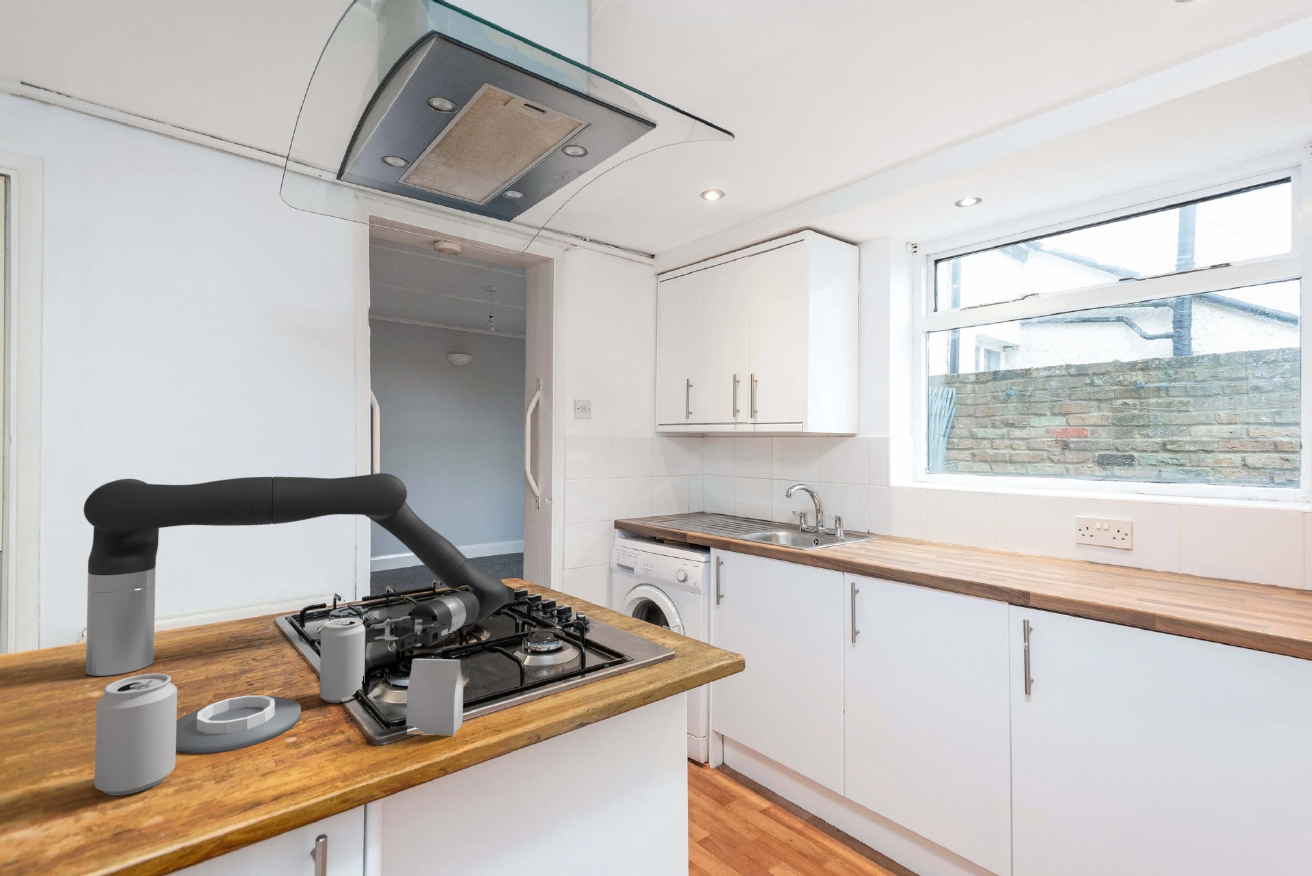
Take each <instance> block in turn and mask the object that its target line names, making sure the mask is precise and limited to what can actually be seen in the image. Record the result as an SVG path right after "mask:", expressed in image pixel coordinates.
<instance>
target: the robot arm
mask: <svg viewBox="0 0 1312 876" xmlns="http://www.w3.org/2000/svg"><path fill="white" fill-rule="evenodd" d="M407 496H408V492H407V487H406V485H405V483H404V482H403V481H402V480H401V479H400V478H398V476H395V475H393V474H391V473H385V472H378V473H371V474H364V475H356V476H354V475H353V476H346V477H333V478H331V477H330V478H326V477H310V476H309V477H307V476H305V477H304V476H250V477H236V478H229V479H219V480H213V481H206V482H201V483H192V484H160V483H159V484H157V483H147V482H145V481H143V480H140V479H136V478H122V479H117V480H113V481H109V482H106V483H104V484H102V485H100V486H98V487H97V488H95V489H94V490H93V491H92V492H91V493H90V494H89V495H88V496H87V498H86V500H85V502H84V505H83V514H84V517H85V520H86V521H87V522H88V524H90V525H91V526H93V538H92V539H93V540H92V545H91V551H90V554H89V556H88V560H87V596H86V597H87V602H86V603H87V604H86V608H87V609H86V641H85V642H86V644H85V646H86V647H85V649H86V650H85V674H87V675H89V676H97V677H98V676H99V677H100V676H101V677H103V676H112V675H113V676H114V675H121V674H125V673H126V674H128V673H130V672H135V671H138V670H141V669H143V668H147V667H148V666H151V665H152V664H153V663H154V660H155V659H154V657H155V655H154V654H155V653H154V652H155V618H156V617H155V615H156V614H155V613H156V612H155V611H156V607H155V606H156V565H157V555H158V548H159V536H160V535H159V534H160V533H159V532H160V529H162V528H170V527H171V528H172V527H180V526H212V527H213V526H215V527H216V526H219V527H220V526H222V527H223V526H228V527H231V526H233V527H234V526H237V527H239V526H262V525H264V526H265V525H278V524H286V523H287V524H288V523H294V522H300V521H306V520H311V519H316V518H320V517H321V518H322V517H325V516H337V515H351V516H352V515H355V516H356V515H358V516H359V515H361V516H365V517H367V518H368V519H369V520H372V521H373V522H374V523H376V524H377V525H379V526H381V528H383V529H384V530H386V531H387V532H389V533H390V534H391V535H393V537H395V538H397V539H398V540H399V541H400V542H401V543H402V544H403V545H405V547H406V548H408V549H409V550H410V552H412V553H413V554H414V555H415V557H416V558H417V559H419V560H420V562H422V564H423V565H424V566H425V567H426V568H428V570H429V571H430V572H432V574H433V575H434V576H435V577H437V578H438V580H440V582H442V583H443V585H445V586H446V587H447V588H449V589H450V590H456V589H459V588H462V587H463V586H468V587H470V588H471V589H470V590H469V591H466V590H461V591H457V592H454V593H451V594H449V595H448V594H447V595H446V596H445V595H443V596H440V597H436V598H433V599H431V600H428V601H425V602H422V603H419V604H417V605H415V606H413V607H412V608H411V609H410V610H409V612H408V614H407V616H406V615H405V616H400V617H399V618H394V619H393V616H391V615H386V616H384V617H381V618H378V619H375V620H372V621H369V622H366V623H365V625H364V627H365V645H366V644H368V643H371V642H372V641H375V640H383V639H384V640H385V641H387V642H388V641H393V640H396V651H397V652H403V651H405V650H407V649H410V648H412V647H421V646H422V644H423V645H424V647H432V646H434V645H435V644H437V643H440V642H442V641H443V640H445V639H447V638H448V635H447V633H449V632H452V631H454V632H456V631H457V630H458V629H461V628H463V627H464V626H468V625H473V624H474V625H475V624H478V623H480V622H482V621H484V620H485V619H487V618H488V617H489V616H491V615H492V614H493V613H494V612H496V611H497V610H499V609H500V608H501V607H503V605H505V604H506V602H507V601H508V599H509V591H508V588H507V586H506V585H505V583H504V582H503V581H502V580H501V579H500V578H499V577H497V576H496V575H494V574H492V573H491V572H489V571H487V570H484V569H483V568H482V567H479V566H478V565H476V564H474V563H473V562H471V561H470V560H469V559H468V558H467V557H466V555H465V554H463V553H462V552H461V551H460V550H459V548H458V547H456V546H455V545H454V544H453V543H452V542H451V541H449V540H448V539H447V538H446V537H444V536H443V535H442V534H440V533H439V532H438V531H437V530H435V529H433V528H432V527H431V526H429V525H428V524H427V523H426V522H425V521H423V520H422V519H421V518H420V517H419V516H418V515H417V514H416V513H415V511H413V509H411V507H410V506H409V504H408V502H406V500H407ZM392 629H393V630H392ZM391 630H392V631H393V633H392V634H393V635H392V634H390V633H391ZM452 633H453V632H452Z"/></svg>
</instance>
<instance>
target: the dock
mask: <svg viewBox="0 0 1312 876" xmlns="http://www.w3.org/2000/svg"><path fill="white" fill-rule="evenodd" d="M301 706H302V705H300V703H299V702H298V701H296V700H294V699H292V698H289V697H284V696H283V697H282V696H273V695H272V696H271V695H270V696H269V695H267V696H266V695H256V694H255V695H254V694H253V695H243V696H242V695H241V696H235V697H230V698H227V699H223V700H220V701H217V702H214V703H211V704H208V705H207V706H204V707H203V708H199V709H197V710H194V711H191V712H190V713H188V714H186V715H184V716H182V717H179V719H176V752H179V751H181V752H180V753H184V754H213V753H215V754H216V753H220V752H221V753H222V752H229V751H235V750H238V749H243V748H247V747H251V746H255V745H257V744H260V743H263V742H266V741H268V740H269V741H270V740H271V739H273V738H275V737H278V736H281V735H282V734H284V733H286V732H287V731H289V730H290V729H292V728H293V727H295V725H296V724H297V723H298V722H299V721H300V718H301V715H302V712H301V710H302V707H301Z"/></svg>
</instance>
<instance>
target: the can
mask: <svg viewBox="0 0 1312 876" xmlns="http://www.w3.org/2000/svg"><path fill="white" fill-rule="evenodd" d="M171 679H172V677H171V676H170V675H168V674H164V673H146V674H145V673H144V674H138V675H134V676H128V677H124V678H121V679H118V680H116V681H114V682H111V683H108V685H106V686H105V687H104V689H103V692H104V694H103V695H102V696H101V697H100V698H99V699H98V700H97V702H96V703H95V704H96V705H95V706H96V708H95V743H94V744H95V745H94V747H95V750H94V751H95V752H94V784H93V785H94V787H95V789H96V790H99V791H101V792H103V793H104V794H106V795H110V796H123V795H129V794H135V793H138V792H142V791H145V790H147V789H150V788H152V787H155V786H157V785H158V784H160V783H161V782H163V781H164V780H165V779H166V778H167V777H168V776H169V774H171V772H172V771H174V770H175V768H176V760H177V759H176V758H177V757H176V756H177V751H176V721H177V720H178V719H177V717H178V716H177V715H178V714H177V713H178V712H177V711H178V708H177V707H178V687H177V686H176V685H174V683H172V682H171Z"/></svg>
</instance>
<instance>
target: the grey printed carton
mask: <svg viewBox="0 0 1312 876" xmlns="http://www.w3.org/2000/svg"><path fill="white" fill-rule="evenodd" d="M411 660H412V661H411V669H410V673H409V681H408V685H407V689H406V690H407V691H406V714H405V715H406V720H405V727H406V726H413V727H416V728H419V729H420V730H421V731H423V732H424V733H425V734H430V735H431V734H432V735H433V734H434V735H453V736H452V737H455V735H456V734H457V732H458V731H459V730H460V728H461V727H462V726H461V724H462V725H463V712H464V711H463V710H464V708H463V707H464V682H463V681H464V680H463V675H462V666H461V659H444V658H440V659H439V658H413V659H411ZM460 726H461V727H460ZM458 729H459V730H458ZM457 730H458V731H457ZM456 731H457V732H456ZM455 733H456V734H455ZM454 734H455V735H454Z"/></svg>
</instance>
